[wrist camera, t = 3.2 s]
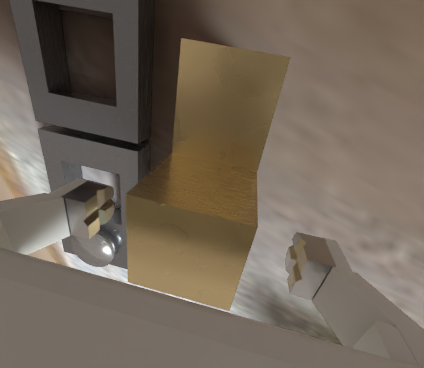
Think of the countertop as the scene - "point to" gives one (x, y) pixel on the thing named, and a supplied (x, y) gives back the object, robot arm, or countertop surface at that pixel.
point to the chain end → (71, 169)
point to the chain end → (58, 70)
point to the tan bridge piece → (205, 176)
